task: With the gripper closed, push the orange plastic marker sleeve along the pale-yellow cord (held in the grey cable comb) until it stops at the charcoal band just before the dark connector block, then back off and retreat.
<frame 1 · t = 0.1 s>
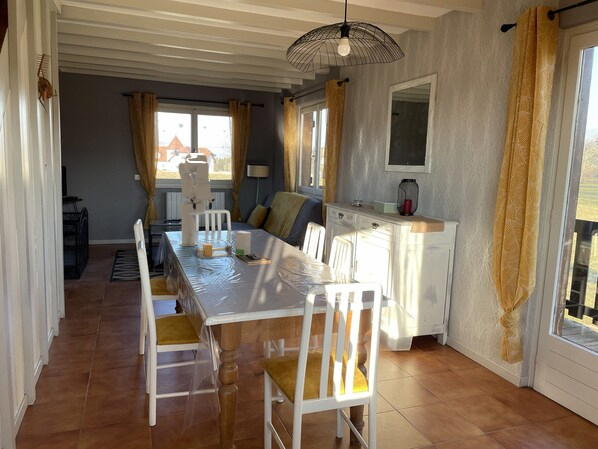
hand: (202, 209, 282), 31 cm above the table, fingers open, 9 cm apart
marker sleeve: (207, 249, 290), point 4 cm above the table, slide at 0.0 cm
skincare box: (242, 255, 297), on the table
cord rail: (215, 255, 292), on the table
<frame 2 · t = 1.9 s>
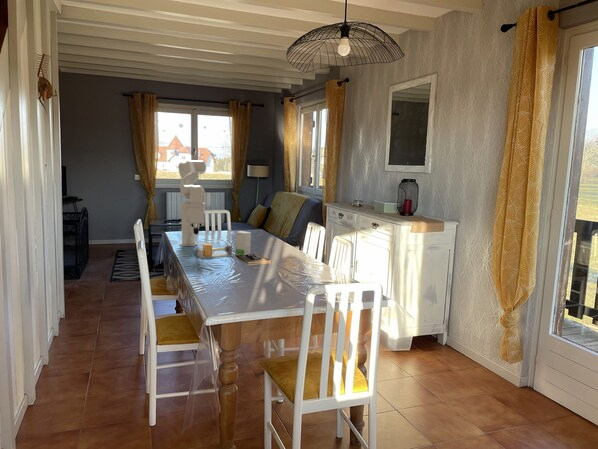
hand: (196, 234, 285), 15 cm above the table, fingers closed
nothing on the table moved.
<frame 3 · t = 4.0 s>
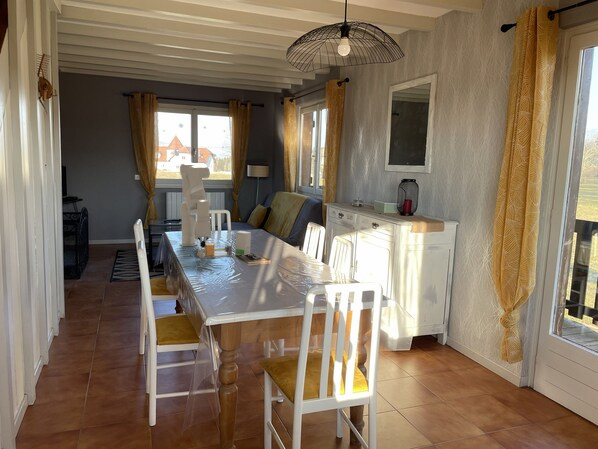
hand: (202, 247, 288), 6 cm above the table, fingers closed
marker sleeve: (209, 249, 290), point 4 cm above the table, slide at 1.3 cm, touching gripper
everything else where it was.
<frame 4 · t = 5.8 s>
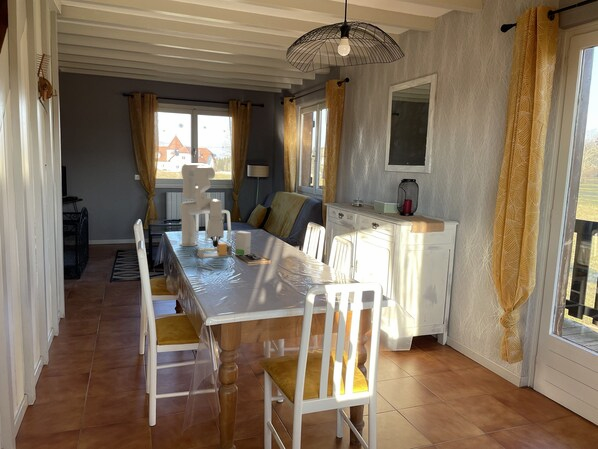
hand: (215, 246, 292), 6 cm above the table, fingers closed
marker sleeve: (221, 248, 294), point 4 cm above the table, slide at 9.5 cm, touching gripper
everything else where it was.
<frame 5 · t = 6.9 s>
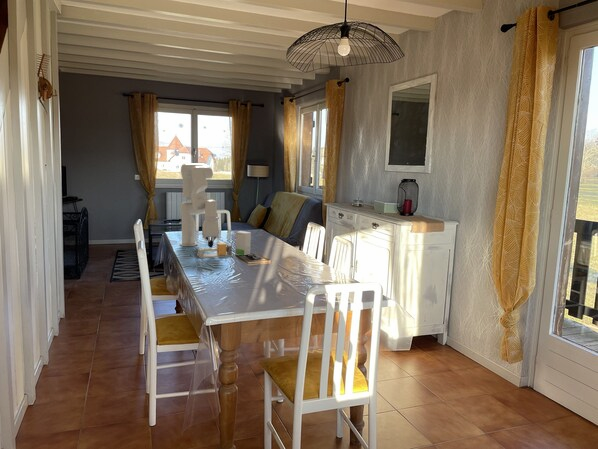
hand: (210, 247, 290), 6 cm above the table, fingers closed
marker sleeve: (221, 248, 294), point 4 cm above the table, slide at 9.2 cm
everything else where it was.
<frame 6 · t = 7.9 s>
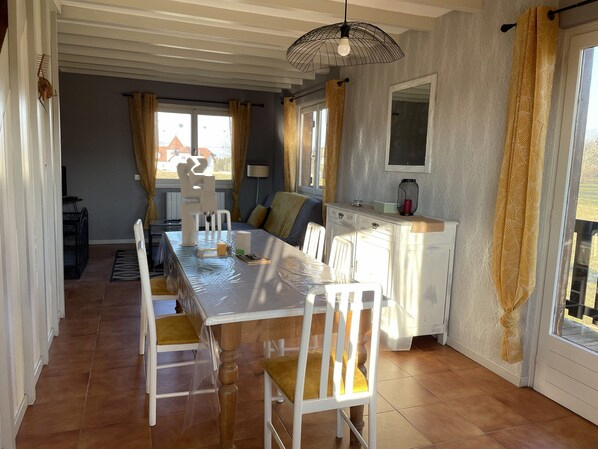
hand: (208, 222, 290), 22 cm above the table, fingers closed
nothing on the table moved.
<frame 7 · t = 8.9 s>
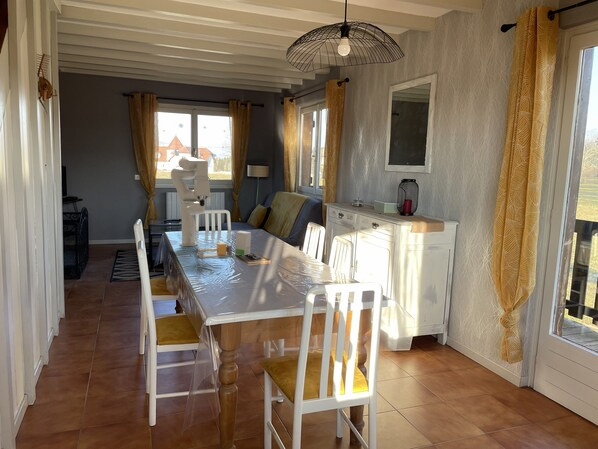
hand: (202, 206, 300), 31 cm above the table, fingers closed
nothing on the table moved.
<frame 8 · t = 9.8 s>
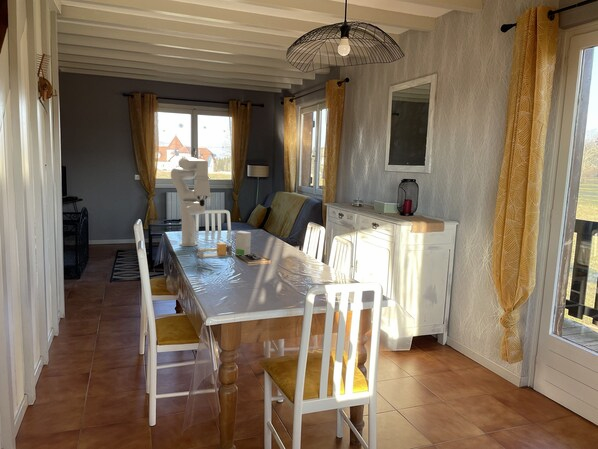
hand: (202, 205, 300), 31 cm above the table, fingers closed
nothing on the table moved.
at the end: marker sleeve slide at 9.2 cm; skincare box moved 0.2 cm from its start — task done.
